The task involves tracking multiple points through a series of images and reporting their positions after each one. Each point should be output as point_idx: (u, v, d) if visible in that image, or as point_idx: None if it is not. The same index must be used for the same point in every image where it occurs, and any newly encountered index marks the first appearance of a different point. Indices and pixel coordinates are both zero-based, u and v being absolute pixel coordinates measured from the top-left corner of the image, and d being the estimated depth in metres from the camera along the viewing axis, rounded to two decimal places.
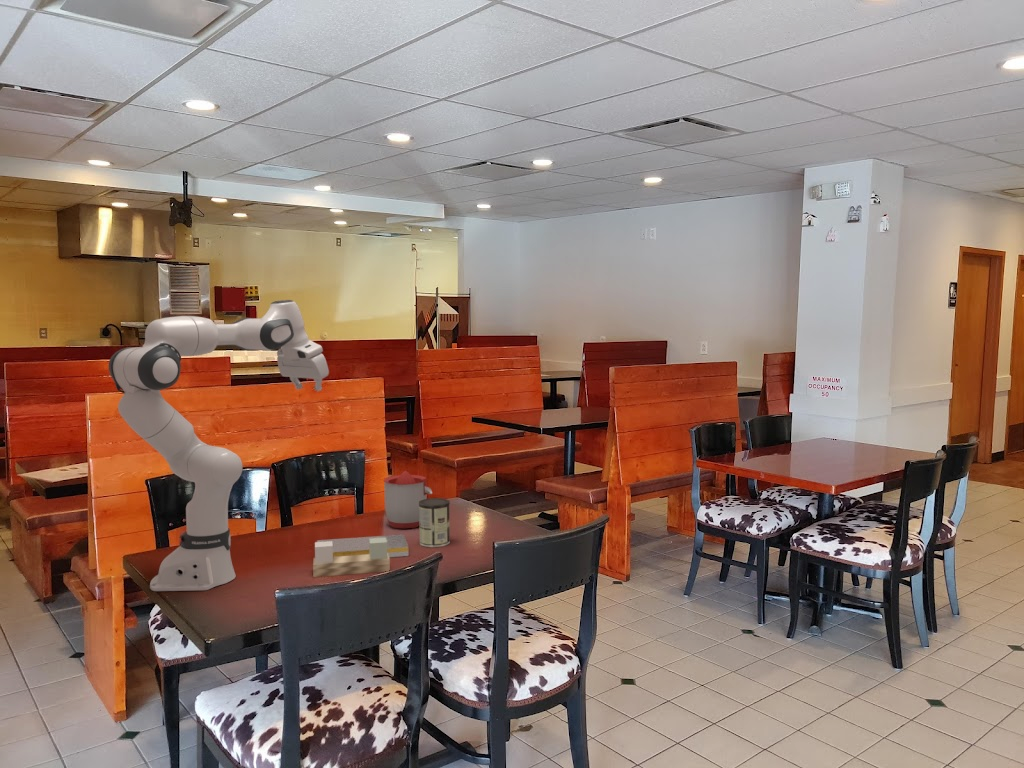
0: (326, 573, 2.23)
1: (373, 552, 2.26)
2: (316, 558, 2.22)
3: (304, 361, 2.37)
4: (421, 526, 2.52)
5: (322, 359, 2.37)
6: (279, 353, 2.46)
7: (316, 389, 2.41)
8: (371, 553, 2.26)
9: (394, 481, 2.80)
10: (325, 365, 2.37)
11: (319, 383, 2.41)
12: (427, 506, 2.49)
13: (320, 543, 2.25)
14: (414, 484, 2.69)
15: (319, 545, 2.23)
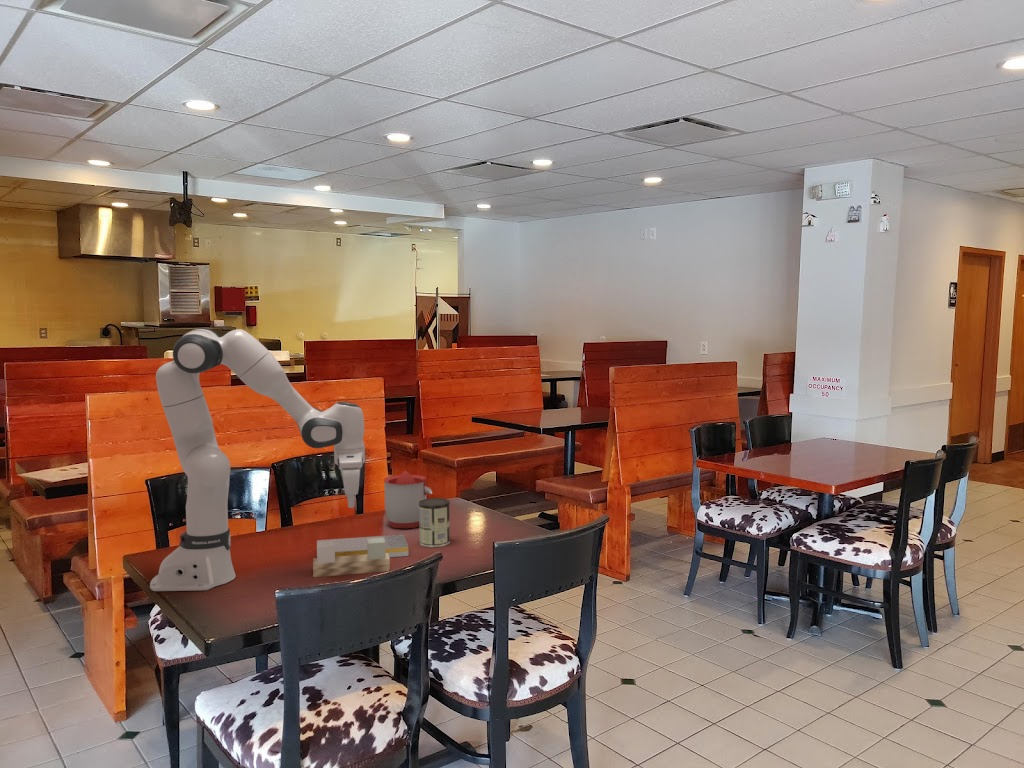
0: (326, 573, 2.23)
1: (371, 552, 2.26)
2: (319, 558, 2.22)
3: None
4: (421, 526, 2.52)
5: (355, 475, 2.16)
6: None
7: (348, 505, 2.21)
8: (369, 553, 2.26)
9: (394, 481, 2.80)
10: (355, 482, 2.16)
11: (351, 499, 2.20)
12: (427, 506, 2.49)
13: (322, 543, 2.26)
14: (414, 484, 2.69)
15: (321, 545, 2.23)
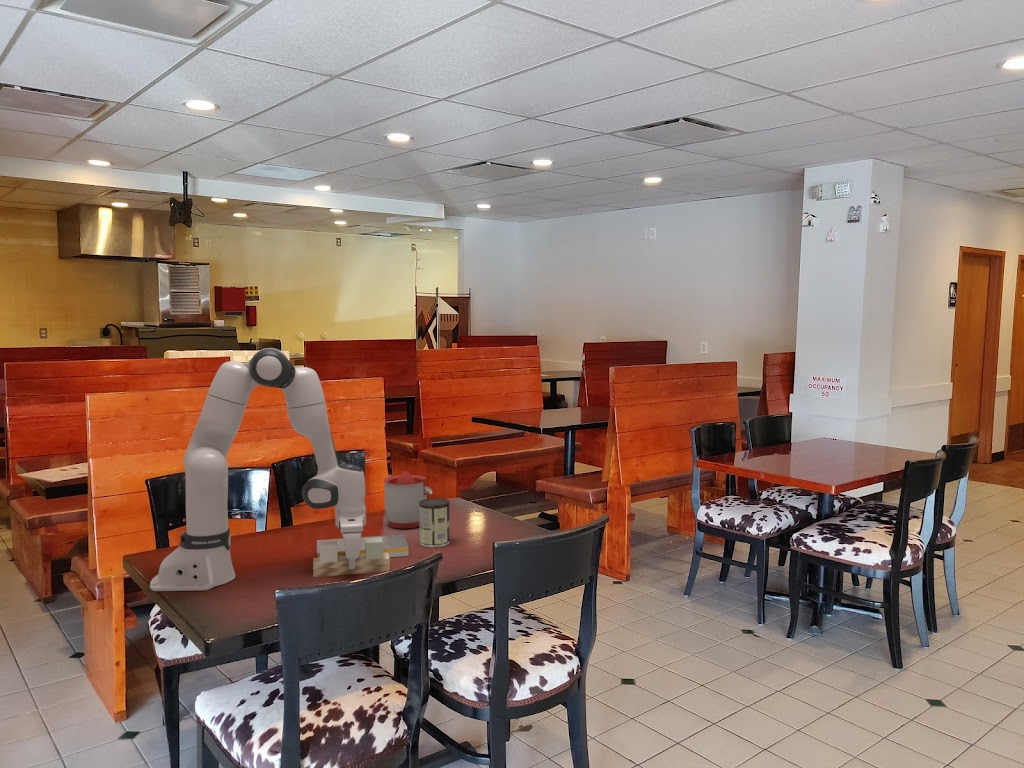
0: (326, 573, 2.23)
1: (369, 552, 2.26)
2: (321, 557, 2.22)
3: None
4: (421, 526, 2.52)
5: (356, 539, 2.17)
6: None
7: (349, 566, 2.23)
8: (367, 553, 2.25)
9: (394, 481, 2.80)
10: (356, 546, 2.17)
11: (352, 561, 2.22)
12: (427, 506, 2.49)
13: (325, 542, 2.26)
14: (414, 484, 2.69)
15: (324, 544, 2.24)
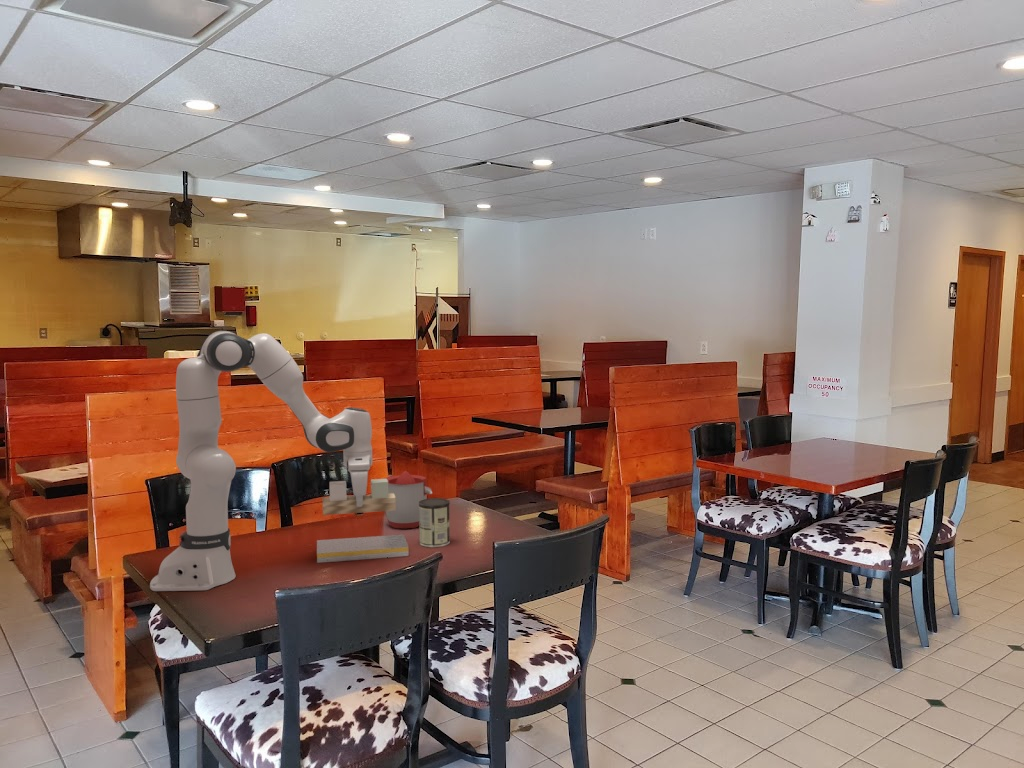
0: (335, 510, 2.33)
1: (375, 491, 2.36)
2: (331, 496, 2.33)
3: None
4: (421, 526, 2.52)
5: (363, 476, 2.28)
6: None
7: None
8: (373, 492, 2.36)
9: (394, 481, 2.80)
10: (363, 483, 2.28)
11: (360, 499, 2.33)
12: (427, 506, 2.49)
13: (334, 482, 2.37)
14: (414, 484, 2.69)
15: (333, 484, 2.35)
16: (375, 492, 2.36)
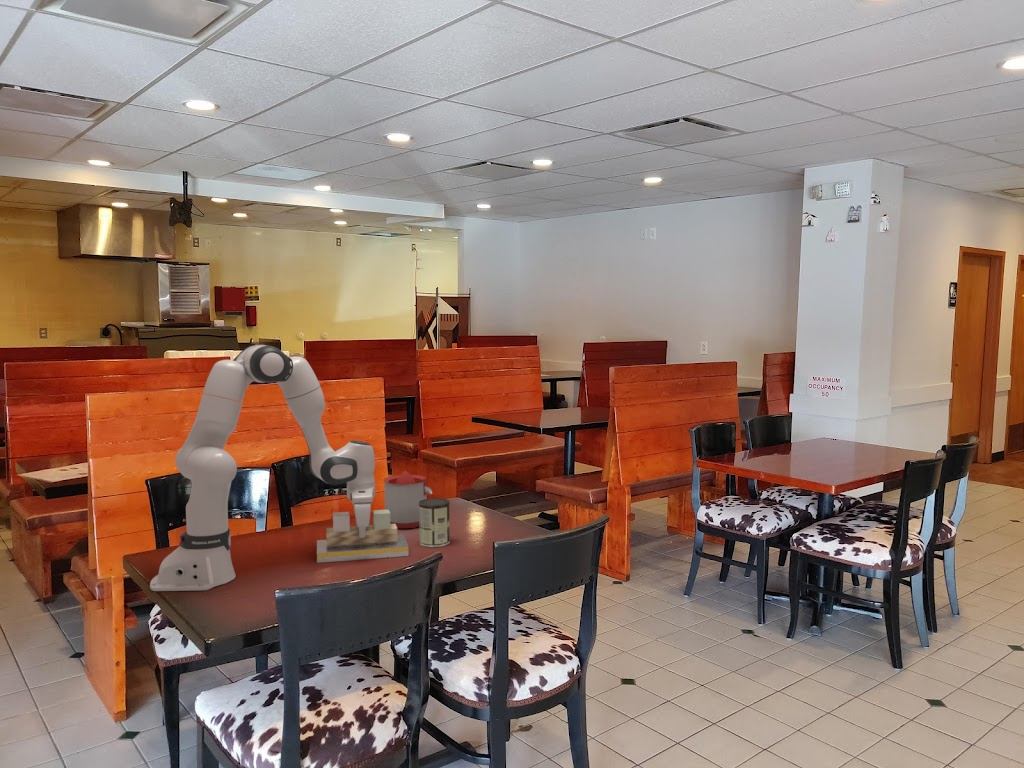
0: (338, 541, 2.40)
1: (377, 522, 2.42)
2: (335, 527, 2.39)
3: None
4: (421, 526, 2.52)
5: (366, 509, 2.34)
6: None
7: (359, 535, 2.40)
8: (375, 523, 2.42)
9: (394, 481, 2.80)
10: (367, 516, 2.34)
11: (362, 530, 2.39)
12: (427, 506, 2.49)
13: (338, 513, 2.43)
14: (414, 484, 2.69)
15: (337, 515, 2.41)
16: (377, 523, 2.43)
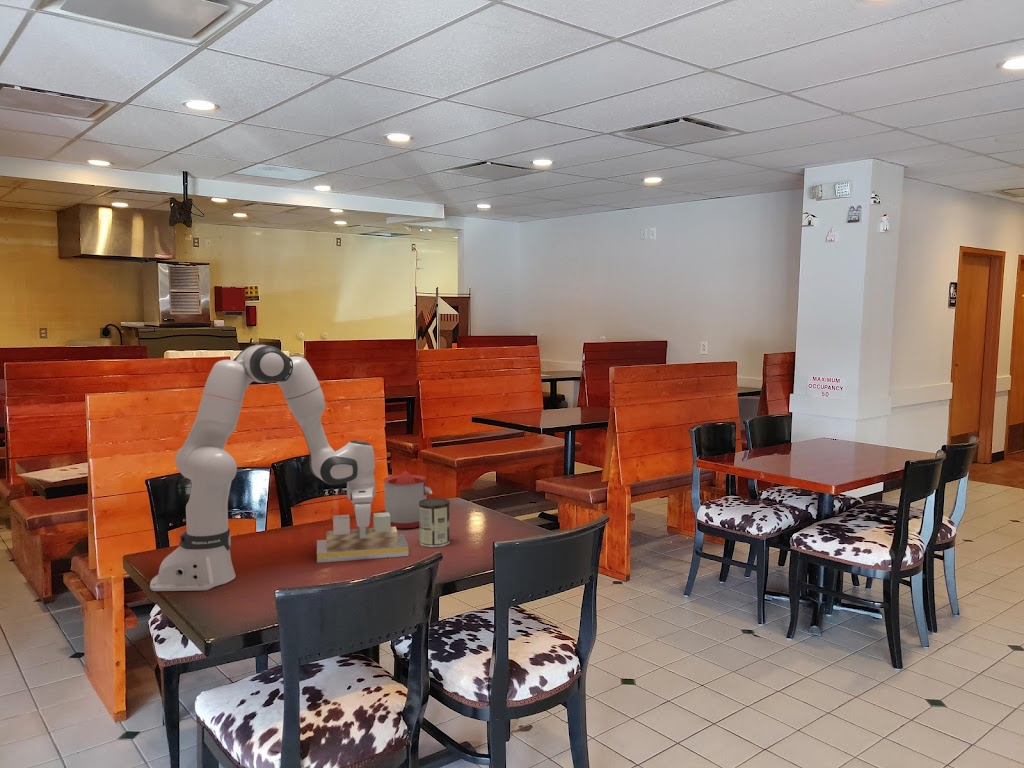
0: (338, 544, 2.40)
1: (377, 525, 2.43)
2: (335, 530, 2.40)
3: None
4: (421, 526, 2.52)
5: (366, 509, 2.34)
6: None
7: None
8: (375, 526, 2.42)
9: (394, 481, 2.80)
10: (367, 516, 2.34)
11: (363, 531, 2.38)
12: (427, 506, 2.49)
13: (338, 516, 2.43)
14: (414, 484, 2.69)
15: (337, 518, 2.41)
16: (377, 526, 2.43)
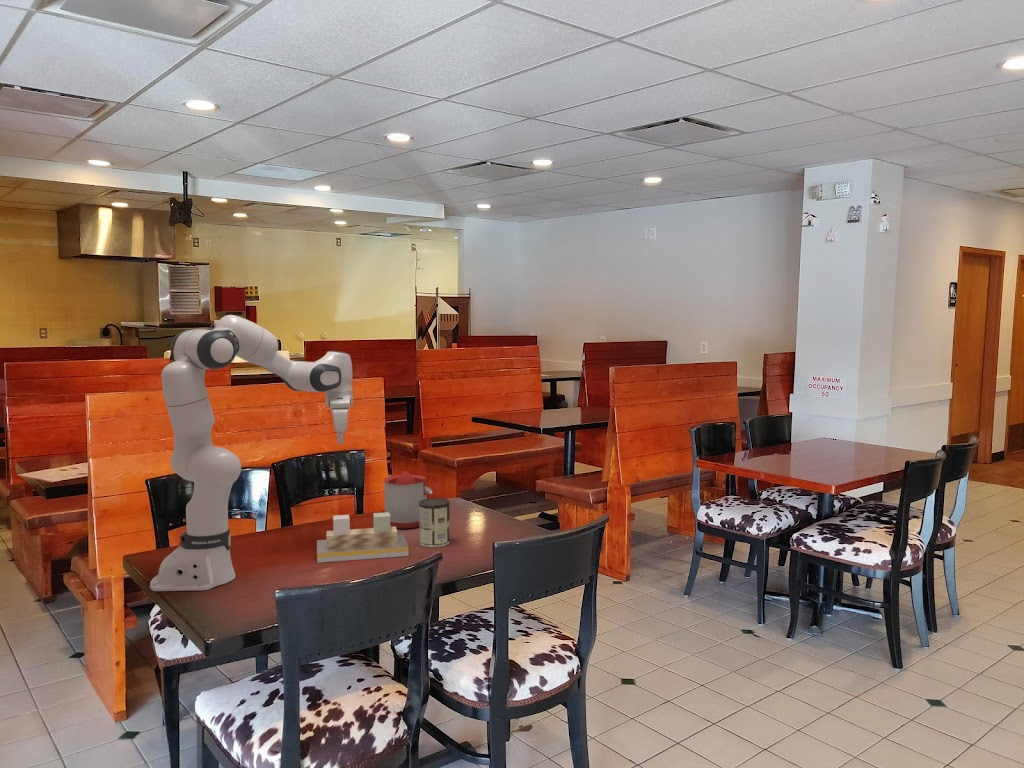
0: (338, 544, 2.40)
1: (377, 525, 2.43)
2: (335, 530, 2.40)
3: None
4: (421, 526, 2.52)
5: (343, 414, 2.43)
6: None
7: None
8: (375, 526, 2.42)
9: (394, 481, 2.80)
10: (344, 420, 2.43)
11: (340, 436, 2.47)
12: (427, 506, 2.49)
13: (338, 516, 2.43)
14: (414, 484, 2.69)
15: (337, 518, 2.41)
16: (377, 526, 2.43)
